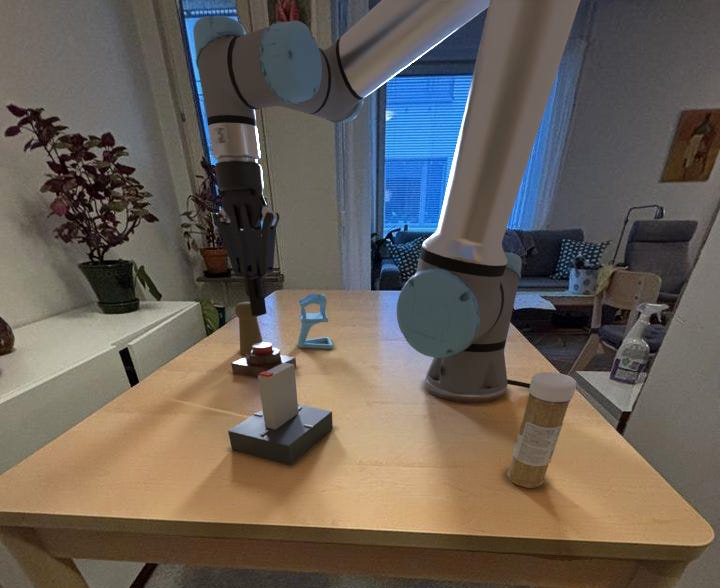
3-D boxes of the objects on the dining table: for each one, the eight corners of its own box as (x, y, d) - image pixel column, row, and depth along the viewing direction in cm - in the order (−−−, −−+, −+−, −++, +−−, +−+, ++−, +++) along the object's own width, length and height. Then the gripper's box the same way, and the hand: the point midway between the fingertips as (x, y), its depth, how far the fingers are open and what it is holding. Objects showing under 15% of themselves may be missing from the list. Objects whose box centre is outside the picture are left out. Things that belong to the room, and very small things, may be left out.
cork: (259, 355, 93) (252, 305, 87) (235, 354, 94) (227, 304, 88) (269, 348, 98) (263, 300, 91) (246, 347, 99) (239, 299, 92)
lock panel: (333, 428, 62) (332, 410, 60) (291, 465, 53) (289, 445, 51) (279, 416, 65) (277, 398, 64) (231, 449, 56) (227, 429, 55)
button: (276, 352, 83) (275, 343, 82) (265, 357, 80) (264, 348, 79) (261, 349, 85) (260, 341, 84) (249, 354, 82) (248, 346, 81)
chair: (297, 342, 103) (293, 291, 96) (329, 340, 104) (327, 290, 97) (299, 350, 96) (295, 297, 90) (333, 348, 98) (331, 296, 91)
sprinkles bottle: (516, 466, 53) (542, 367, 46) (549, 479, 51) (584, 377, 43) (500, 479, 50) (525, 377, 43) (535, 494, 48) (569, 388, 40)
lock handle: (288, 411, 60) (283, 360, 56) (298, 413, 59) (294, 362, 55) (265, 427, 55) (257, 373, 51) (275, 429, 55) (268, 375, 50)
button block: (296, 367, 86) (294, 348, 84) (272, 380, 79) (270, 360, 77) (259, 361, 89) (256, 343, 87) (233, 373, 83) (229, 354, 80)
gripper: (190, 161, 64) (220, 315, 77) (255, 156, 60) (275, 321, 73) (222, 166, 70) (245, 308, 83) (283, 161, 65) (297, 313, 78)
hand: (259, 314), depth 78 cm, fingers closed
